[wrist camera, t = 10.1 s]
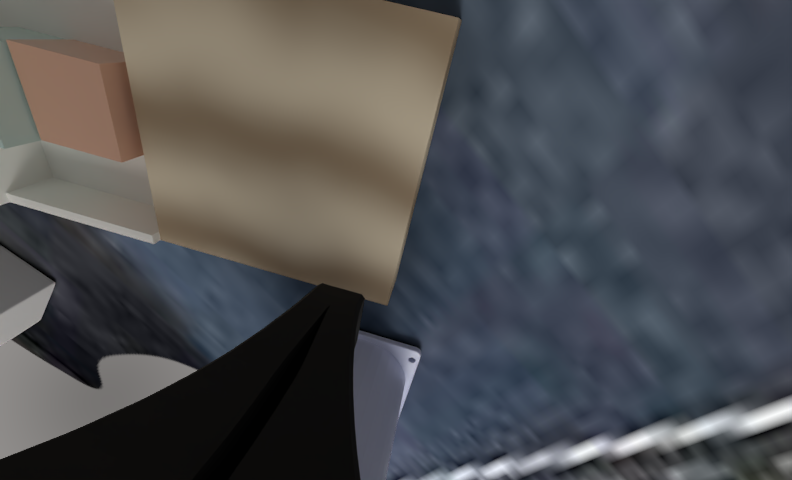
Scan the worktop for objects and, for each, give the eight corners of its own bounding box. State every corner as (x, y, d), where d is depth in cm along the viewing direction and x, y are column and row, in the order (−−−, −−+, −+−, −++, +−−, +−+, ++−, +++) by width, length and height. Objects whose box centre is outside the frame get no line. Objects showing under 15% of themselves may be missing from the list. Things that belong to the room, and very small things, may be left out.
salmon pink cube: (167, 146, 20) (122, 162, 17) (96, 127, 20) (41, 139, 18) (153, 60, 17) (98, 63, 15) (73, 39, 18) (5, 39, 15)
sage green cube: (4, 148, 16) (-52, 133, 16) (93, 127, 20) (47, 115, 20) (-40, 41, 14) (-105, 23, 14) (71, 40, 18) (18, 27, 18)
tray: (189, 221, 23) (139, 253, 19) (52, 181, 23) (-20, 206, 20) (152, -52, 15) (59, -77, 12) (-48, -98, 16) (-190, -135, 12)
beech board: (395, 279, 22) (387, 305, 20) (189, 221, 23) (160, 239, 20) (461, 20, 14) (459, 17, 12) (152, -52, 15) (100, -66, 13)
